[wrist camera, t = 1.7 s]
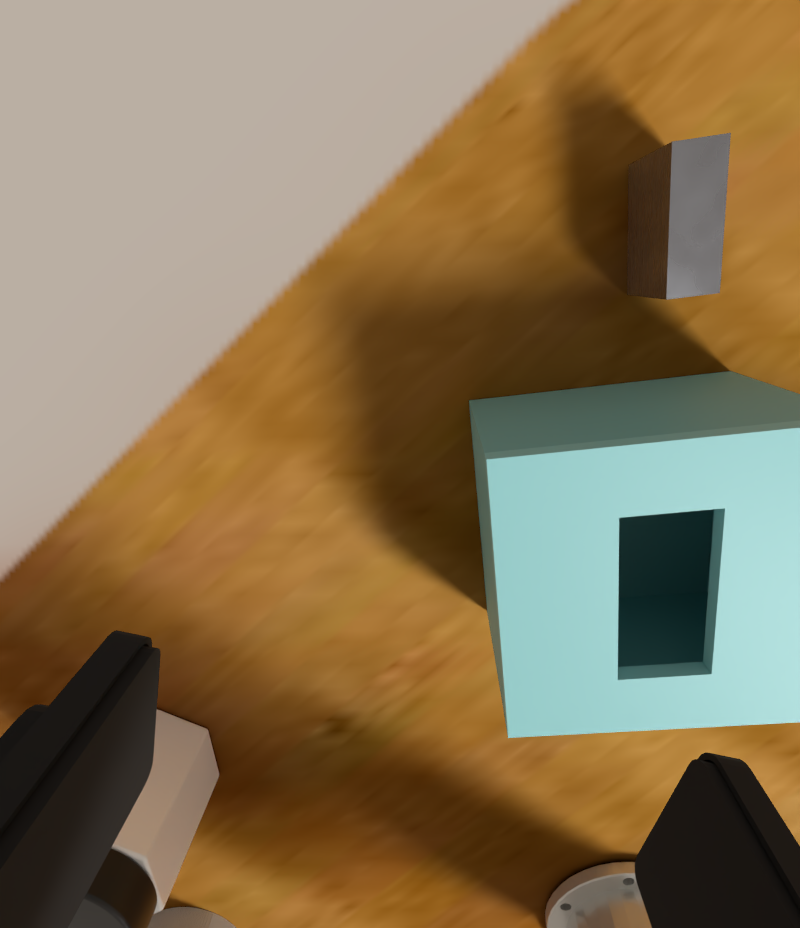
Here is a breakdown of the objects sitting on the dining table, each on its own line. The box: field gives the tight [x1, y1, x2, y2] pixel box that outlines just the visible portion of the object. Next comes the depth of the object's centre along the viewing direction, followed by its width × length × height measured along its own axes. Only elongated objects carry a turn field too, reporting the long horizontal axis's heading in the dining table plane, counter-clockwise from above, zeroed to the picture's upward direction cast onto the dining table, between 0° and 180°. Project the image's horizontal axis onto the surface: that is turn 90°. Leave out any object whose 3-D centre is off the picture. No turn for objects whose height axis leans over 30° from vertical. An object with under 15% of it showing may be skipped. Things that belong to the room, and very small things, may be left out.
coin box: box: [469, 371, 800, 738], centre depth 27 cm, size 14×14×10 cm
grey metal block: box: [627, 133, 731, 300], centre depth 24 cm, size 2×6×5 cm, turn 7°
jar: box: [68, 709, 219, 928], centre depth 35 cm, size 9×8×12 cm
